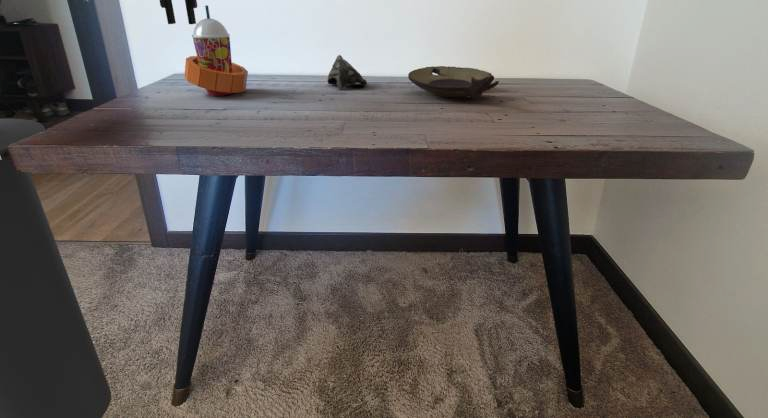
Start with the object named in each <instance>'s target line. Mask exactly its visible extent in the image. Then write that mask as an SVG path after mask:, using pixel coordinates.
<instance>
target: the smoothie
mask: <svg viewBox="0 0 768 418" xmlns="http://www.w3.org/2000/svg"><path fill="white" fill-rule="evenodd" d="M204 7H205V14H206V18H204V19H201V20H200V21H198V22H197V23H196V24H195V27H194V29H193V33H192V34H191V37H192V41H193V46H194V49H195V54H196V56H197V58H198V63H199V65H200V66H202V67H204V68H208V69H211V70H215V71H221V72H228V73H232V63H233V62H232V48H231V34H229V32H228V30H227V28H226V27H225V26H224V25H223V24H222V23H221V22H220V21H218V20H217V19H214V18H211V15H210V9H209V5H205V6H204ZM203 89H204V90H205V91H206V93H207V95H209V96H211V97H225V96H229V95H231V94H232V93H227V92H218V91H213V90H209V89H205V88H203Z"/></svg>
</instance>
